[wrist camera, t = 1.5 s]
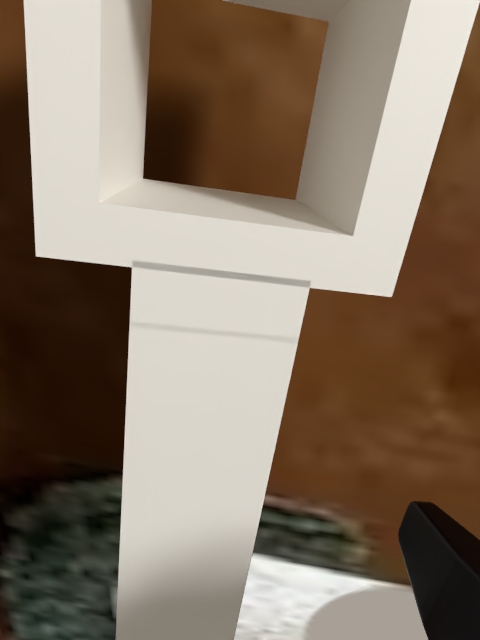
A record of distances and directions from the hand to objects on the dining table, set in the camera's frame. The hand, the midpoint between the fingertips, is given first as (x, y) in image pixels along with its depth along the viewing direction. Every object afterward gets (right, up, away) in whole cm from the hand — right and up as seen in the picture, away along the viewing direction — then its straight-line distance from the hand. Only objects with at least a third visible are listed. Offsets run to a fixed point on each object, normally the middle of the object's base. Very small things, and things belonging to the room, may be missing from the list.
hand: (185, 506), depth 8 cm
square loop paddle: (0, +6, +6) cm, 8 cm away
